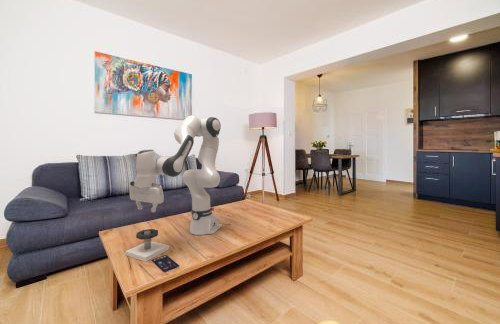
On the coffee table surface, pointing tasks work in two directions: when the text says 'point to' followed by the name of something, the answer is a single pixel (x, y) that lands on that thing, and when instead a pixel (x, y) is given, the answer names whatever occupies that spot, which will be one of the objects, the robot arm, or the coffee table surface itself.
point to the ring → (141, 234)
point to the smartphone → (165, 263)
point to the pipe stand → (147, 249)
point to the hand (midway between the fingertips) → (146, 210)
